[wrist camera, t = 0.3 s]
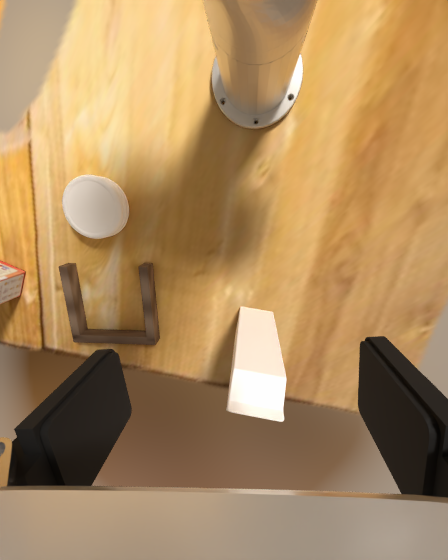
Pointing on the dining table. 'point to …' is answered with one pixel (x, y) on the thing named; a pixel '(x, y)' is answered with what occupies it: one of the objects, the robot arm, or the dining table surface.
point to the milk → (257, 367)
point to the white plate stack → (95, 206)
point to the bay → (110, 336)
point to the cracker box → (10, 282)
